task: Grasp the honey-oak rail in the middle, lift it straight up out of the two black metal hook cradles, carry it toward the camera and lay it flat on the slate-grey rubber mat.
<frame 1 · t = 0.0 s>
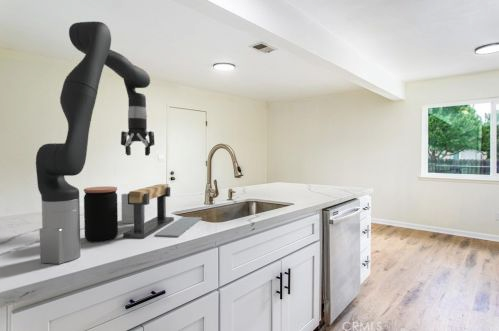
hand: (137, 155, 130), 29 cm above the countertop, fingers open, 8 cm apart
rail: (150, 197, 120), point 12 cm above the countertop, touching rack
supplement box: (133, 221, 133), on the countertop
mat: (180, 226, 124), on the countertop
rack: (151, 227, 121), on the countertop
coffee jar: (101, 238, 107), on the countertop
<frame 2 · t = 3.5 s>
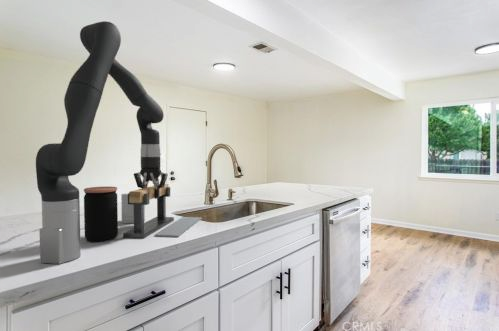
hand: (151, 198, 120), 12 cm above the countertop, fingers closed on rail, 4 cm apart
rail: (150, 197, 120), point 12 cm above the countertop, touching gripper, rack
everything else where it was.
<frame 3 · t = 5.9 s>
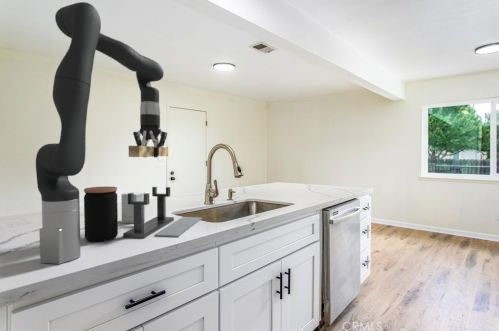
hand: (150, 157, 120), 29 cm above the countertop, fingers closed on rail, 4 cm apart
rail: (150, 156, 120), point 29 cm above the countertop, touching gripper
everything else where it was.
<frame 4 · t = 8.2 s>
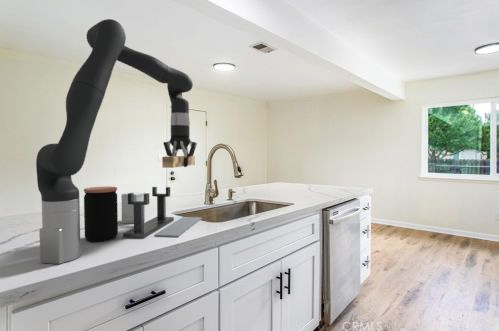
hand: (180, 166, 122), 25 cm above the countertop, fingers closed on rail, 4 cm apart
rail: (180, 166, 122), point 25 cm above the countertop, touching gripper
everything else where it was.
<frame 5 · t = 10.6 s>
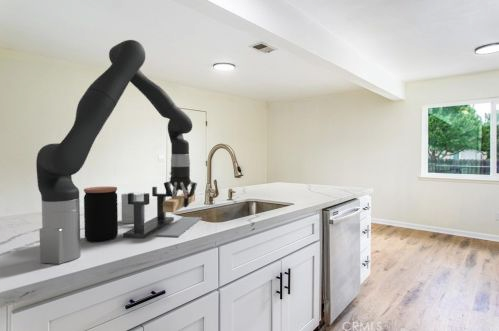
hand: (180, 206, 123), 8 cm above the countertop, fingers closed on rail, 4 cm apart
rail: (180, 205, 123), point 9 cm above the countertop, touching gripper
everything else where it was.
when the fingers open (2 cm above the countertop, at t = 12.9 s): rail drops 2 cm, resting on mat.
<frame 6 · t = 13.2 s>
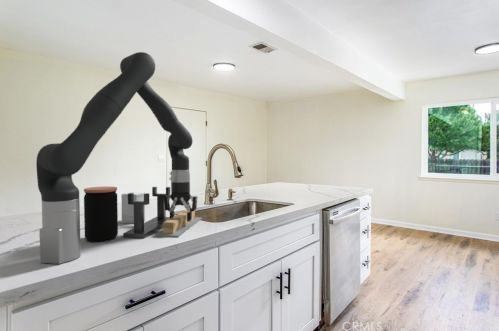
hand: (180, 220, 123), 2 cm above the countertop, fingers open, 6 cm apart
rail: (180, 225, 124), point 1 cm above the countertop, touching mat
everything else where it was.
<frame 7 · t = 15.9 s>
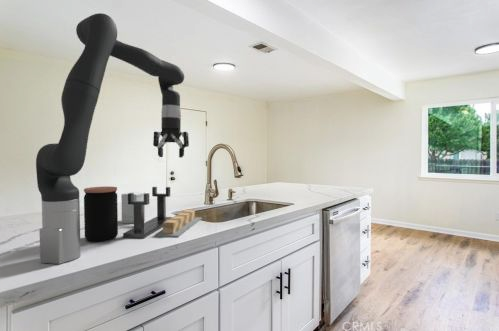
hand: (171, 157, 122), 29 cm above the countertop, fingers open, 8 cm apart
nothing on the countertop moved.
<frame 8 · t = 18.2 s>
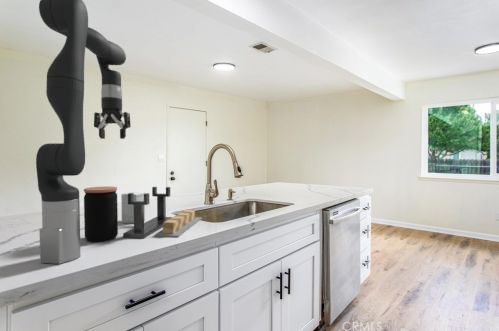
hand: (112, 138, 119), 36 cm above the countertop, fingers open, 8 cm apart
nothing on the countertop moved.
at the end: rail inside the target area on the mat (0.1 cm from its centre), point 0.6 cm above the mat's base; rail tilted 0°; the gripper is holding nothing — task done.
